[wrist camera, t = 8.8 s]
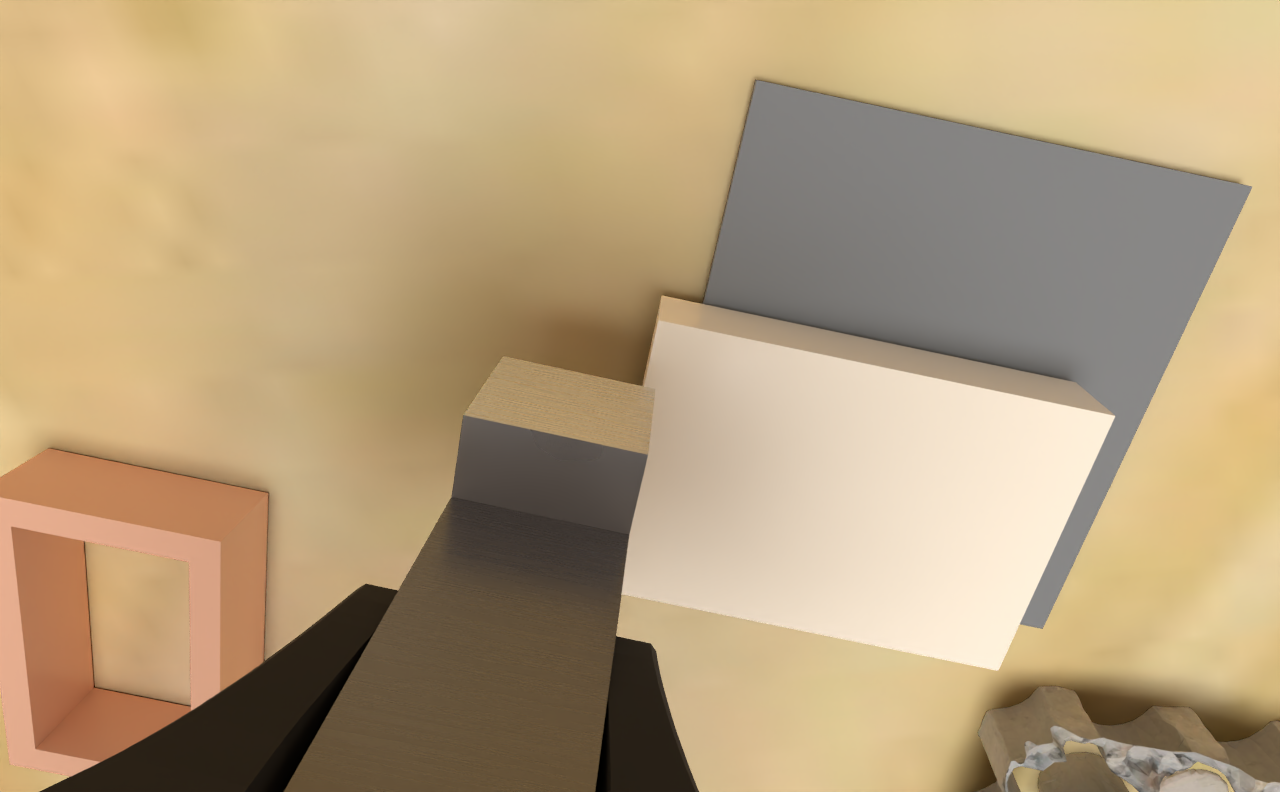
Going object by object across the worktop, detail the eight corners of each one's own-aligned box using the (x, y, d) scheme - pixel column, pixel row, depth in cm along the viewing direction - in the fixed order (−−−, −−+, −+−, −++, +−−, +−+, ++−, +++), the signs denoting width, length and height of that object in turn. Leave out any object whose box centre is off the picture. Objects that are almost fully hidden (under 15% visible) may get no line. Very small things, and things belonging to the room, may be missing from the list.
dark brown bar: (655, 388, 16) (607, 821, 7) (597, 638, 18) (500, 1229, 9) (503, 355, 16) (241, 745, 7) (463, 610, 18) (222, 1174, 9)
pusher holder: (268, 492, 23) (220, 541, 21) (261, 739, 26) (219, 805, 24) (48, 448, 23) (-25, 492, 20) (70, 702, 26) (9, 764, 24)
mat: (1036, 619, 23) (1042, 628, 23) (646, 539, 23) (645, 548, 22) (1241, 184, 18) (1252, 186, 18) (755, 79, 18) (756, 80, 18)
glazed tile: (608, 540, 22) (969, 614, 23) (599, 590, 20) (998, 670, 20) (661, 292, 20) (1071, 378, 20) (658, 319, 18) (1115, 416, 18)
